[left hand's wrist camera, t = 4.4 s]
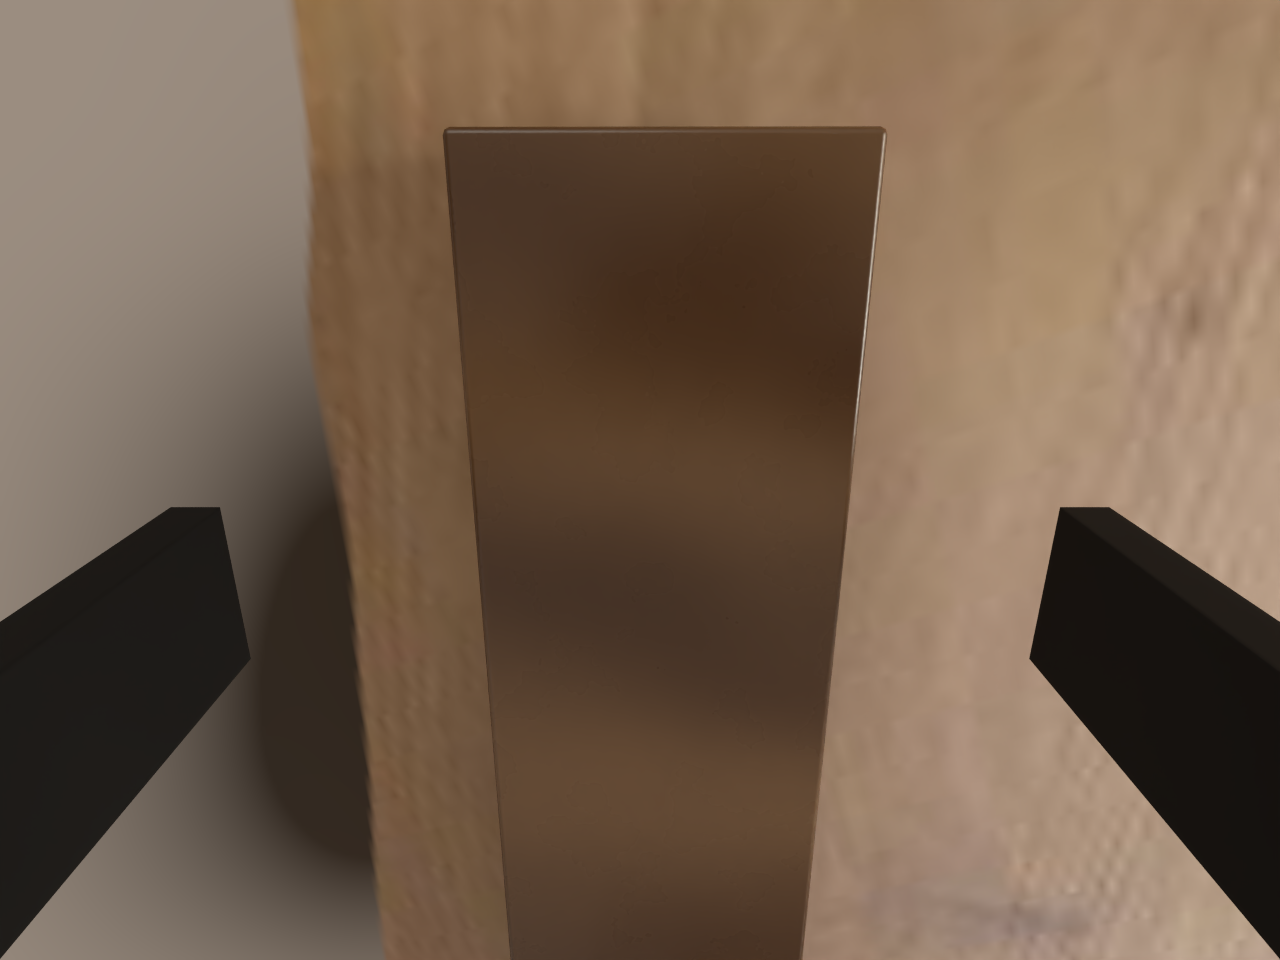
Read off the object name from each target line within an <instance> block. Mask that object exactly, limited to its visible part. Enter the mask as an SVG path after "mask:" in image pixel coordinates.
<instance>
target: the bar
mask: <svg viewBox="0 0 1280 960" xmlns="http://www.w3.org/2000/svg"><path fill="white" fill-rule="evenodd" d="M886 141H887V132H886V129H885V128H883V127H449V128H446V129H445V130H444V133H443V143H444V155H445V167H446V179H447V191H448V203H449V215H450V228H451V240H452V252H453V264H454V276H455V288H456V301H457V313H458V325H459V337H460V349H461V361H462V373H463V386H464V398H465V410H466V422H467V434H468V446H469V458H470V471H471V483H472V495H473V507H474V519H475V531H476V543H477V556H478V568H479V580H480V592H481V604H482V616H483V628H484V641H485V653H486V665H487V677H488V689H489V701H490V713H491V726H492V738H493V750H494V762H495V774H496V786H497V798H498V811H499V823H500V835H501V847H502V859H503V871H504V883H505V896H506V908H507V920H508V932H509V944H510V956H511V960H802V956H803V946H804V936H805V927H806V917H807V907H808V898H809V888H810V878H811V868H812V859H813V849H814V839H815V830H816V820H817V810H818V801H819V791H820V781H821V772H822V762H823V752H824V742H825V733H826V723H827V713H828V704H829V694H830V684H831V675H832V665H833V655H834V646H835V636H836V626H837V616H838V607H839V597H840V587H841V578H842V568H843V558H844V549H845V539H846V529H847V520H848V510H849V500H850V490H851V481H852V471H853V461H854V452H855V442H856V432H857V423H858V413H859V403H860V394H861V384H862V374H863V364H864V355H865V345H866V335H867V326H868V316H869V306H870V297H871V287H872V277H873V268H874V258H875V248H876V238H877V229H878V219H879V209H880V200H881V190H882V180H883V171H884V161H885V151H886Z"/></svg>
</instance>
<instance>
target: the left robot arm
mask: <svg viewBox="0 0 1280 960" xmlns="http://www.w3.org/2000/svg"><path fill="white" fill-rule="evenodd" d="M1029 659H1030V660H1031V661H1032V662H1033V664H1034V665H1035V666H1036V667H1037V668H1038V670H1039V671H1040V672H1041V673H1042V674H1043V676H1044V677H1045V678H1046V679H1047V680H1048V682H1049V683H1050V684H1051V685H1052V686H1053V688H1054V689H1055V690H1056V691H1057V692H1058V694H1059V695H1060V696H1061V697H1062V698H1063V700H1064V701H1065V702H1066V703H1067V704H1068V706H1069V707H1070V708H1071V709H1072V710H1073V712H1074V713H1075V714H1076V715H1077V716H1078V718H1079V719H1080V720H1081V721H1082V722H1083V724H1084V725H1085V726H1086V727H1087V728H1088V730H1089V731H1090V732H1091V733H1092V734H1093V736H1094V737H1095V738H1096V739H1097V740H1098V742H1099V743H1100V744H1101V745H1102V746H1103V748H1104V749H1105V750H1106V751H1107V752H1108V754H1109V755H1110V756H1111V757H1112V758H1113V760H1114V761H1115V762H1116V763H1117V764H1118V765H1119V767H1120V768H1121V769H1122V770H1123V771H1124V773H1125V774H1126V775H1127V776H1128V777H1129V779H1130V780H1131V781H1132V782H1133V783H1134V785H1135V786H1136V787H1137V788H1138V789H1139V791H1140V792H1141V793H1142V794H1143V795H1144V797H1145V798H1146V799H1147V800H1148V801H1149V803H1150V804H1151V805H1152V806H1153V807H1154V809H1155V810H1156V811H1157V812H1158V813H1159V815H1160V816H1161V817H1162V818H1163V819H1164V821H1165V822H1166V823H1167V824H1168V825H1169V827H1170V828H1171V829H1172V830H1173V831H1174V833H1175V834H1176V835H1177V836H1178V837H1179V839H1180V840H1181V841H1182V842H1183V843H1184V845H1185V846H1186V847H1187V848H1188V849H1189V851H1190V852H1191V853H1192V854H1193V855H1194V857H1195V858H1196V859H1197V860H1198V861H1199V863H1200V864H1201V865H1202V866H1203V867H1204V869H1205V870H1206V871H1207V872H1208V873H1209V875H1210V876H1211V877H1212V878H1213V879H1214V881H1215V882H1216V883H1217V884H1218V885H1219V887H1220V888H1221V889H1222V890H1223V891H1224V893H1225V894H1226V895H1227V896H1228V897H1229V898H1230V900H1231V901H1232V902H1233V903H1234V904H1235V906H1236V907H1237V908H1238V909H1239V910H1240V912H1241V913H1242V914H1243V915H1244V916H1245V918H1246V919H1247V920H1248V921H1249V922H1250V924H1251V925H1252V926H1253V927H1254V928H1255V930H1256V931H1257V932H1258V933H1259V934H1260V936H1261V937H1262V938H1263V939H1264V940H1265V942H1266V943H1267V944H1268V945H1269V946H1270V948H1271V949H1272V950H1273V951H1274V952H1275V954H1276V955H1277V956H1278V957H1279V958H1280V622H1279V621H1278V620H1276V619H1275V618H1273V617H1272V616H1270V615H1269V614H1267V613H1266V612H1264V611H1263V610H1261V609H1260V608H1258V607H1257V606H1255V605H1254V604H1252V603H1251V602H1249V601H1248V600H1246V599H1245V598H1243V597H1242V596H1240V595H1239V594H1237V593H1236V592H1235V591H1233V590H1232V589H1230V588H1229V587H1227V586H1226V585H1224V584H1223V583H1221V582H1220V581H1218V580H1217V579H1215V578H1214V577H1212V576H1211V575H1209V574H1208V573H1206V572H1205V571H1203V570H1202V569H1200V568H1199V567H1197V566H1196V565H1194V564H1193V563H1191V562H1190V561H1188V560H1187V559H1185V558H1184V557H1182V556H1181V555H1179V554H1178V553H1176V552H1175V551H1173V550H1172V549H1170V548H1169V547H1168V546H1166V545H1165V544H1163V543H1162V542H1160V541H1159V540H1157V539H1156V538H1154V537H1153V536H1151V535H1150V534H1148V533H1147V532H1145V531H1144V530H1142V529H1141V528H1139V527H1138V526H1136V525H1135V524H1133V523H1132V522H1130V521H1129V520H1127V519H1126V518H1124V517H1123V516H1121V515H1120V514H1118V513H1117V512H1115V511H1114V510H1112V509H1111V508H1109V507H1060V511H1059V516H1058V521H1057V525H1056V530H1055V535H1054V540H1053V545H1052V550H1051V555H1050V560H1049V565H1048V570H1047V575H1046V580H1045V584H1044V589H1043V594H1042V599H1041V604H1040V609H1039V614H1038V619H1037V624H1036V629H1035V634H1034V639H1033V643H1032V648H1031V653H1030V658H1029ZM249 660H250V653H249V649H248V643H247V639H246V634H245V629H244V624H243V619H242V614H241V609H240V604H239V599H238V594H237V590H236V584H235V580H234V575H233V570H232V565H231V560H230V555H229V550H228V545H227V540H226V535H225V531H224V525H223V521H222V516H221V511H220V507H171V508H169V509H168V510H166V511H165V512H163V513H162V514H160V515H159V516H157V517H156V518H154V519H153V520H151V521H150V522H148V523H147V524H145V525H144V526H142V527H141V528H139V529H138V530H136V531H135V532H133V533H132V534H130V535H129V536H127V537H126V538H124V539H123V540H121V541H120V542H119V543H117V544H115V545H114V546H112V547H111V548H110V549H108V550H107V551H105V552H104V553H102V554H101V555H99V556H98V557H96V558H95V559H93V560H92V561H90V562H89V563H87V564H86V565H84V566H83V567H81V568H80V569H78V570H77V571H75V572H74V573H72V574H71V575H69V576H68V577H66V578H65V579H63V580H62V581H60V582H59V583H57V584H56V585H54V586H53V587H51V588H50V589H49V590H47V591H46V592H44V593H43V594H41V595H40V596H38V597H37V598H35V599H34V600H32V601H31V602H29V603H28V604H26V605H25V606H23V607H22V608H20V609H19V610H17V611H16V612H14V613H13V614H11V615H10V616H8V617H7V618H5V619H4V620H2V621H1V622H0V958H1V957H2V956H3V955H4V954H5V952H6V951H7V950H8V949H9V948H10V946H11V945H12V944H13V943H14V942H15V940H16V939H17V938H18V937H19V936H20V934H21V933H22V932H23V931H24V930H25V928H26V927H27V926H28V925H29V924H30V922H31V921H32V920H33V919H34V918H35V916H36V915H37V914H38V913H39V912H40V910H41V909H42V908H43V907H44V906H45V904H46V903H47V902H48V901H49V900H50V898H51V897H52V896H53V895H54V894H55V893H56V891H57V890H58V889H59V888H60V887H61V885H62V884H63V883H64V882H65V881H66V879H67V878H68V877H69V876H70V874H71V873H72V872H73V871H74V870H75V869H76V867H77V866H78V865H79V864H80V863H81V861H82V860H83V859H84V858H85V856H86V855H87V854H88V853H89V852H90V851H91V849H92V848H93V847H94V846H95V845H96V843H97V842H98V841H99V840H100V839H101V837H102V836H103V835H104V834H105V833H106V831H107V830H108V829H109V828H110V826H111V825H112V824H113V823H114V822H115V821H116V819H117V818H118V817H119V816H120V815H121V813H122V812H123V811H124V810H125V809H126V807H127V806H128V805H129V804H130V803H131V801H132V800H133V799H134V798H135V797H136V795H137V794H138V793H139V792H140V791H141V789H142V788H143V787H144V786H145V785H146V783H147V782H148V781H149V780H150V779H151V777H152V776H153V775H154V774H155V773H156V771H157V770H158V769H159V768H160V767H161V765H162V764H163V763H164V762H165V761H166V759H167V758H168V757H169V756H170V755H171V753H172V752H173V751H174V750H175V749H176V748H177V746H178V745H179V744H180V743H181V742H182V740H183V739H184V738H185V737H186V736H187V734H188V733H189V732H190V731H191V729H192V728H193V727H194V726H195V725H196V724H197V722H198V721H199V720H200V719H201V718H202V716H203V715H204V714H205V713H206V711H207V710H208V709H209V708H210V707H211V706H212V704H213V703H214V702H215V701H216V700H217V698H218V697H219V696H220V695H221V694H222V692H223V691H224V690H225V689H226V688H227V686H228V685H229V684H230V683H231V682H232V680H233V679H234V678H235V677H236V676H237V674H238V673H239V672H240V671H241V670H242V668H243V667H244V666H245V665H246V664H247V662H248V661H249Z"/></svg>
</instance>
